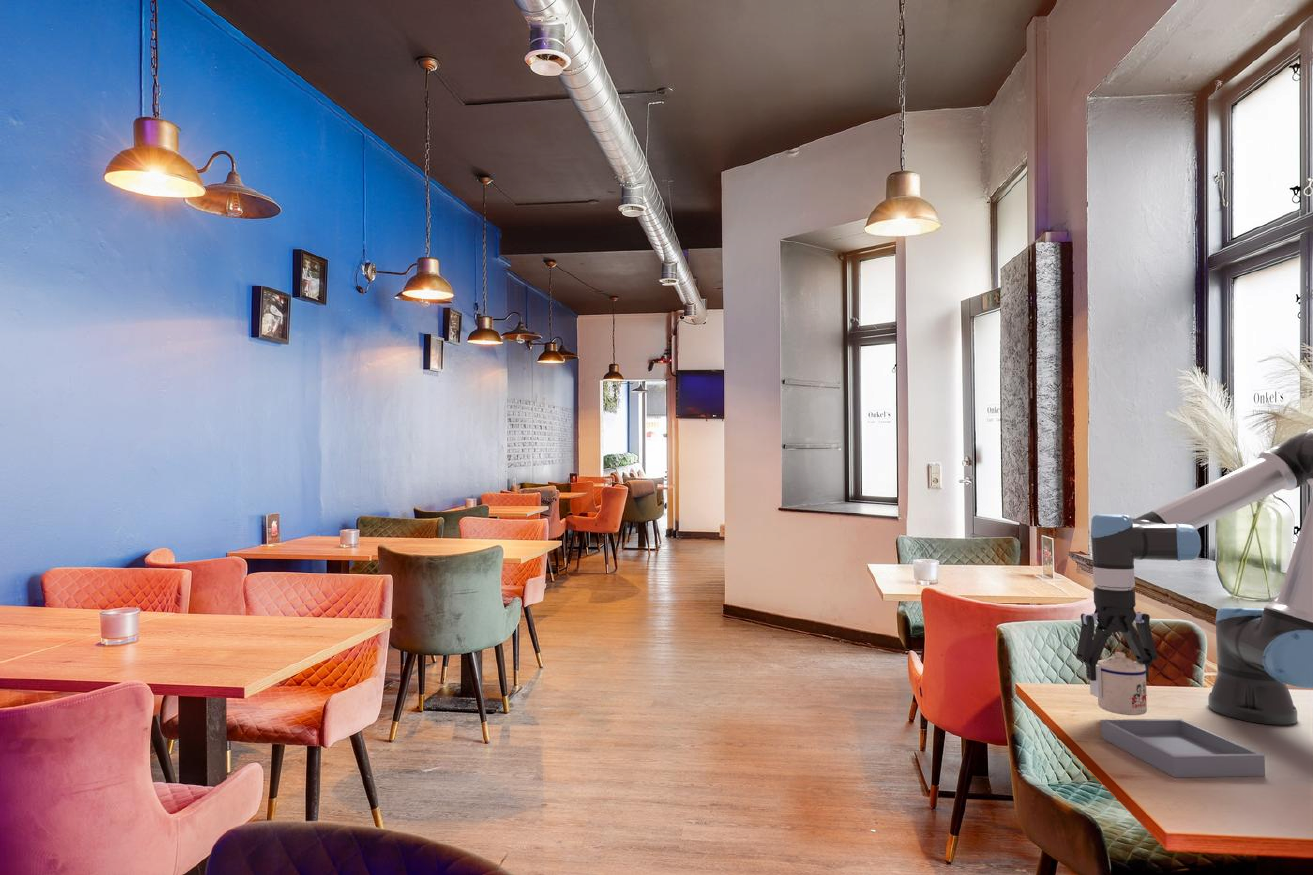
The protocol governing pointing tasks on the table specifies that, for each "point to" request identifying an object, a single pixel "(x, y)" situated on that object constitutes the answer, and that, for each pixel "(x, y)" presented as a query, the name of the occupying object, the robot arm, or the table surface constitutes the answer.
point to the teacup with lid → (1123, 685)
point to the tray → (1183, 748)
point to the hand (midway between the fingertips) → (1118, 695)
